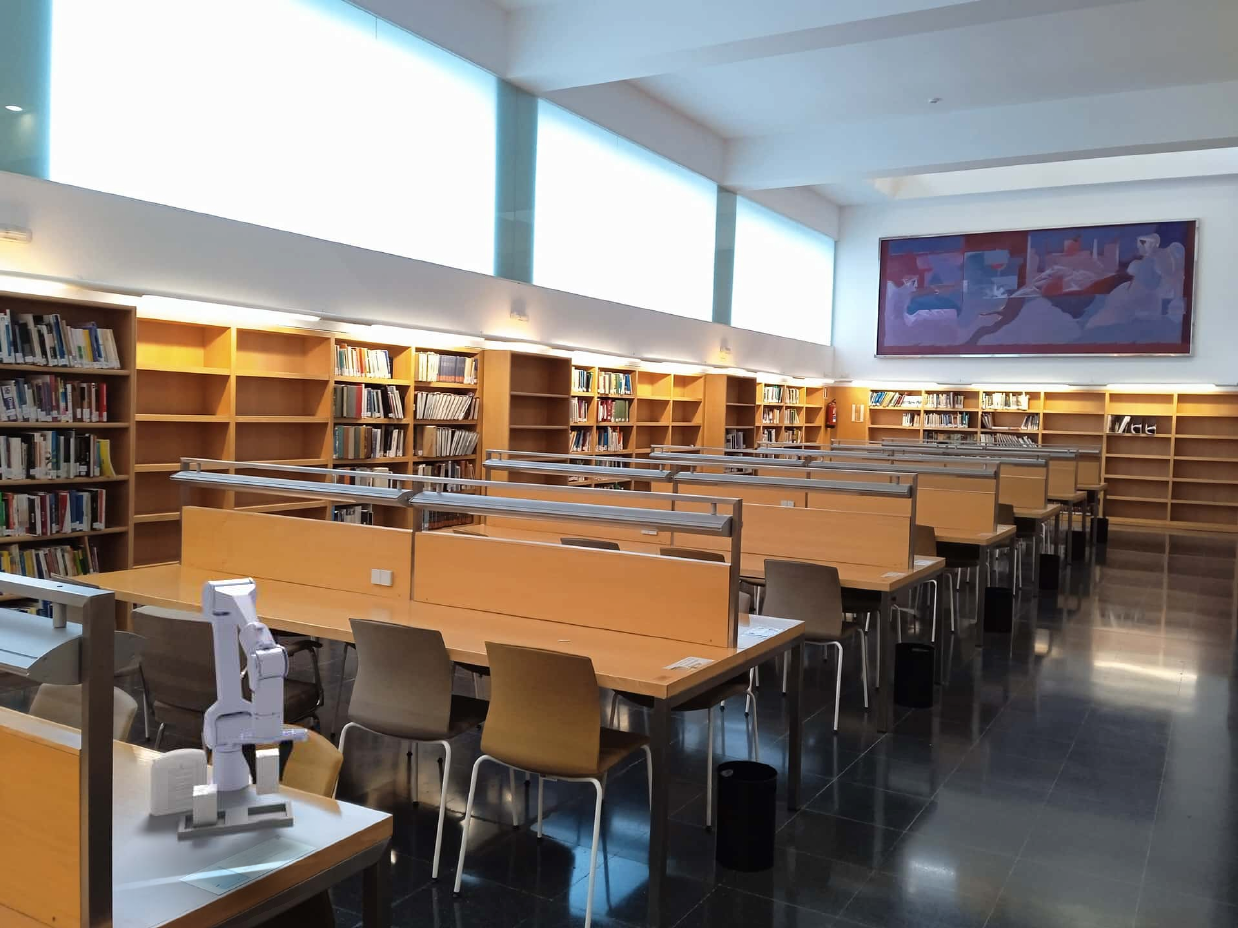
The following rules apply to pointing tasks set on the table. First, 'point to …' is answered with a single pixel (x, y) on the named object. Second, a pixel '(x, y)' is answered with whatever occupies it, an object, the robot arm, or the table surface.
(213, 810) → the block
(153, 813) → the white tombstone slab
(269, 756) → the block
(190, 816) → the pallet
